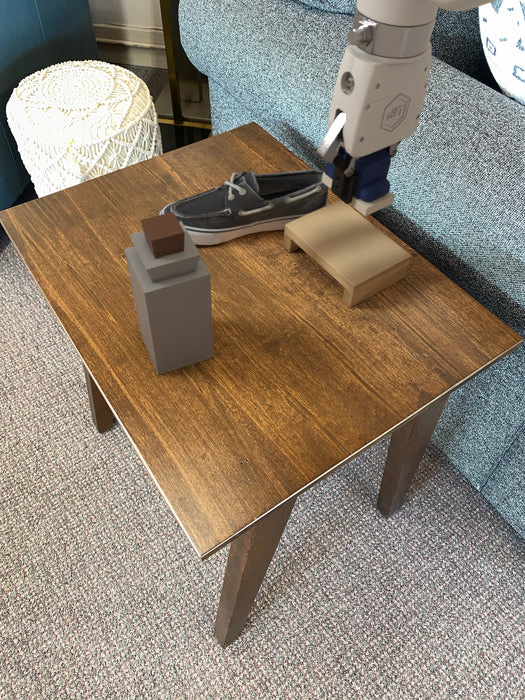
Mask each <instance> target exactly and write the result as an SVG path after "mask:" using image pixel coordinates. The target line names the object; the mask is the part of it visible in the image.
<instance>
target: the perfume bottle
mask: <svg viewBox="0 0 525 700" xmlns="http://www.w3.org/2000/svg"><path fill="white" fill-rule="evenodd" d="M140 224H141V228H142V230H140V231H136V232H132V233H129V236H130V239H131V241H132V243H133V245H134V246H129V247H126V248H123V251H124V255H125V261H126V265H127V271H128V277H129V281H130V287H131V291H132V297H133V303H134V307H135V313H136V319H137V321H138V323H137V324H138V329H139V333H140V335H141V338H142V340H143V343H144V345H145V347H146V349H147V351H148V355H149V357H150V359H151V361H152V364H153V367H154V368H155V371H156V373H157V375H158V376H161V375H165V374H167V373H171V372H173V371H177V370H179V369H182V368H186V367H189V366H191V365H194V364H197V363H201V362H203V361H206V360H210V359H213V358H214V333H213V332H214V330H213V310H212V309H213V308H212V307H213V306H212V277H211V272H210V271H209V269H208V267H207V266H206V264H205V262H204V260H203V259H202V257H201V253H200V251H199V249H198V247H197V246H196V244H194V242H193V241H192V239H191V237H190V235H189V234H188V232H187V230H186V228H185V227H184V225H183V223H182V221H179V222H178V220H177V218H176V216H175V215H174V213H173V212H170V213H166V214H162V215H160V214H158V215H155V216H150V217H146V218H142V219H140Z"/></svg>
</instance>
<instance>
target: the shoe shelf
mask: <svg viewBox="0 0 525 700" xmlns="http://www.w3.org/2000/svg"><path fill="white" fill-rule="evenodd" d="M282 242H283V243H282V247H283V249H285V250H286V252H288V253H289V254H290V253H292V252H294V251H296V250H298V249H302V250H303V251H304V252H305V253H306V254H307V255H308V256H309V257H310V258H311V259H313V260H314V261H315V262H316V263H317V264H318V265H319V266H321V268H323V269H324V271H326V272H327V273H328V274H329V275H330V276H331V277H332V278H334V279H335V280H336V281H337V282H338V283H339V284H340V285H342V287H343V288H344V290H343V295H342V298H341V302H342V303H343V304H344V305H345V306H346V307H347V308H348V309H351V308H353V307H355V306H356V305H357V304H361V302H364V301H365V300H367V299H369V298H371V297H372V296H374V295H376V294H377V293H380V292H382V291H383V290H385V289H387V288H389V287H390V286H392V285H394V284H396V283H398V282H399V281H402V280H403V279H405V277H406V275H407V272H408V268H409V265H410V262H411V259H412V254H410V253H409V252H408V251H406V250H405V249H404V248H403V247H402V246H401V245H399V244H398V243H397V242H396V241H394V240H393V239H391V238H390V237H389V236H388V235H387V234H386V233H384V232H382V231H381V230H380V229H379V228H378V227H377V226H376V225H374V224H372V222H370V221H369V220H368V219H367V218H365V216H364V215H363V216H362V214H361V213H360V212H359V211H356V209H355V208H354V207H351V205H350V204H346V203H344V202H343V201H342V200H341V199H339V200H336V201H334V202H331V203H329V204H327V206H325V207H323V208H320V209H318V210H316V211H314V212H312V213H309V214H307V215H305V216H303V217H300V218H298V219H296V220H294V221H292V222H289V223H287V224H285V230H284V233H283V241H282Z"/></svg>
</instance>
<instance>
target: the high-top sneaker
mask: <svg viewBox="0 0 525 700" xmlns="http://www.w3.org/2000/svg"><path fill="white" fill-rule="evenodd" d="M349 156H350V154H349V153H347V152H346V151H345V154H344V156H343V157H344V158H345V159H346V160H347V161H348V158H349ZM391 156H392V155H391V154H389V153H388V152H386V151H385V150H383V149H380V150H378V151H375V152H373V153H371V154H368V155H365V156H363V157H360V158H359V161H358V163H357V166H356V169H355V171H354V172H355V173H356V174H357V181H356V185H355V190H354V195H353V199H352V202H351V203H349V204H348V205H349V206H352V208H353V209H354V210H357V212H358V213H359V214H361V215H363V217H367V216H369V215H371V214H373V213H375V212H378V211H380V210H382V209H384V208H386V207H388V206H390V205H392V204H394V200H395V197H396V196H395V194H393V193H392V192H391V191H390V190H391V182H390V181H389V179H386V176H387V177H388V175H387V172H388V173H389V171H388V168H389V169H390V167H389V164H390V165H391V163H390V160H391V161H392V158H391ZM325 163H326V165H325V169H324V171H325V173H323V176H322V182H323V183H324V184H325V185H327V186H328V189H330V190H331V186H332V180H333V174H334V168H335V166H333V165H332V164H331V163H329V162H327V161H326V162H325Z"/></svg>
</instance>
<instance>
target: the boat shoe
mask: <svg viewBox="0 0 525 700" xmlns="http://www.w3.org/2000/svg"><path fill="white" fill-rule="evenodd" d="M323 173H325V170H322V169H315V168H314V169H312V168H311V169H303V170H295V171H283V172H271V173H261V174H255V172H254V170H252V169H251V170H250V171H249V172H248V171H245V170H244V171H241V172H240V173H237V172H233V173H232V174H231V177H230V178H229V179H227V180H226V181H224V183H221V185H218V186H216V187H214V188H210V189H208V190H205V191H203V192H199V193H196V194H193V195H189V196H187V197H184V198H181V199H179V200H176V201H173V202H171V203H169V204H167V205H165V206H164V207H163V208H162V209H161V210H160V212H159V215H162V214H166V213H170V212H173V213H174V215H175V216H176V218H177V220H178V222H179V221H182V223H183V225H184V227H185V228H186V230H187V232H188V234H189V235H190V237H191V239H192V241H193V242H194V244H195V246H196V245H198V246H212V245H219V244H221V243H226V242H228V241H232V240H234V239H237V238H240V237H243V236H246V235H250V234H256V233H262V232H269V231H270V232H271V231H285V224H287V223H289V222H292V221H294V220H296V219H298V218H300V217H303V216H305V215H307V214H309V213H312V212H314V211H316V210H318V209H320V208H323V207H325V206H327V205H328V198H329V187H328V186H327V185H325V184H324V183H323V182H322V176H323Z"/></svg>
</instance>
